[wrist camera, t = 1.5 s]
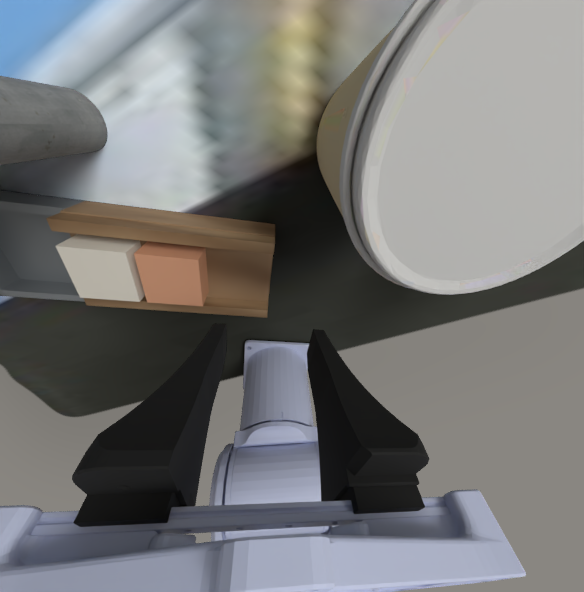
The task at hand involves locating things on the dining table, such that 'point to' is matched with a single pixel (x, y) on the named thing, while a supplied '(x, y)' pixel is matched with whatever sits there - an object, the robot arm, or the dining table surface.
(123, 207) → the board
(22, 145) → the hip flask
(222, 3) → the dining table surface
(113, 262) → the tile
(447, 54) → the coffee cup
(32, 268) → the tray
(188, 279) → the tile
